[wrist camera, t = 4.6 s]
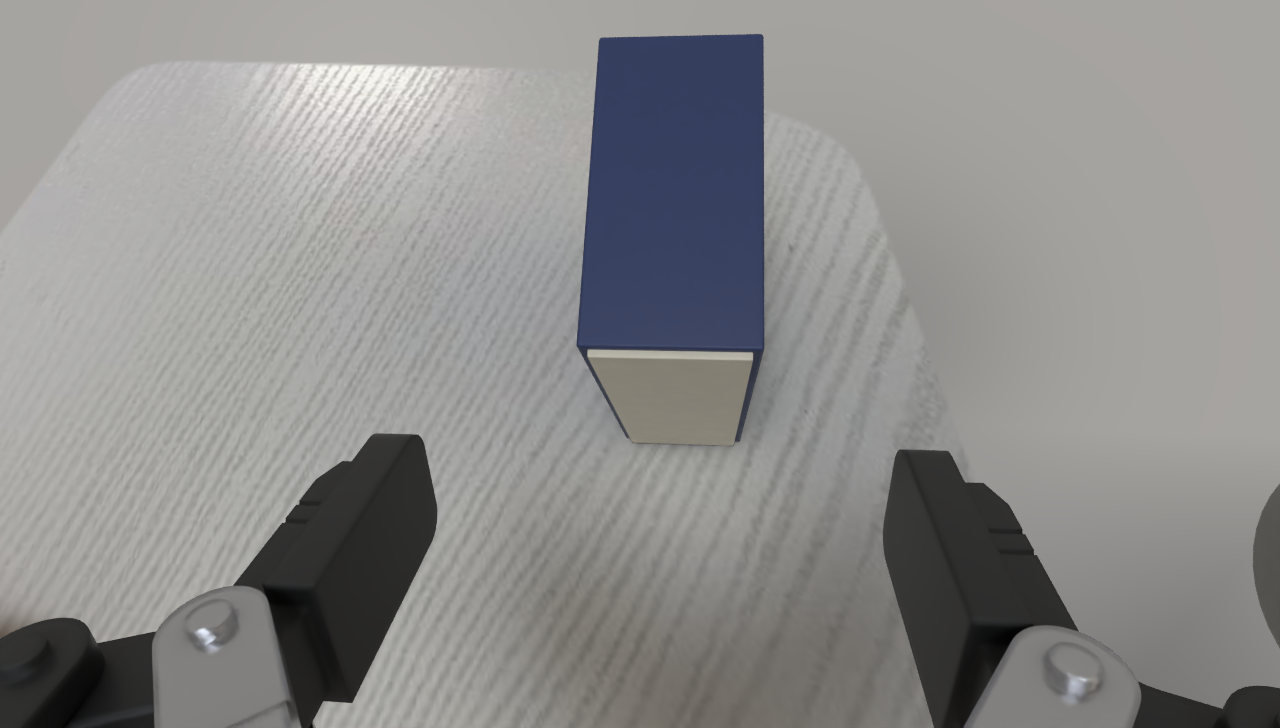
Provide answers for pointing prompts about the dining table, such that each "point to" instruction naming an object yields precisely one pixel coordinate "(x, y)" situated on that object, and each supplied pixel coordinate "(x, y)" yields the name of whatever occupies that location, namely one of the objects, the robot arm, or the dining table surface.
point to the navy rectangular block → (676, 235)
